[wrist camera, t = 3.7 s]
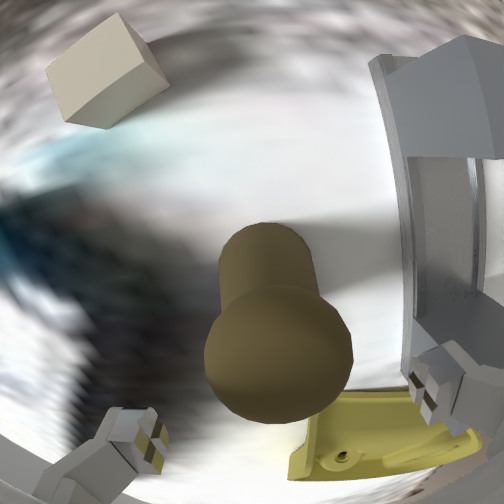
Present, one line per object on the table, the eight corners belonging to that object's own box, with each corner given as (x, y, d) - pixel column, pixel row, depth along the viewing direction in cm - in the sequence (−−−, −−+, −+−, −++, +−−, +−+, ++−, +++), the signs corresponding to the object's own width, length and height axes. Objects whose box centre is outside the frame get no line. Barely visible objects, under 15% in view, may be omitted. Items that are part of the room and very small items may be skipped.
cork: (211, 227, 18) (161, 314, 7) (310, 217, 18) (388, 289, 7) (225, 315, 20) (206, 449, 9) (314, 306, 19) (365, 431, 9)
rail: (367, 62, 15) (379, 54, 13) (446, 66, 14) (460, 60, 13) (400, 370, 21) (409, 384, 20) (461, 345, 21) (472, 356, 19)
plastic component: (283, 480, 23) (308, 474, 16) (288, 420, 28) (312, 389, 22) (437, 466, 22) (492, 444, 16) (433, 416, 28) (482, 384, 21)
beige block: (86, 86, 15) (44, 69, 10) (146, 43, 14) (117, 11, 10) (106, 129, 16) (64, 121, 11) (171, 86, 15) (144, 61, 11)
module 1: (383, 77, 14) (463, 34, 6) (465, 81, 13) (545, 62, 6) (401, 156, 15) (495, 159, 7) (480, 148, 15) (565, 155, 7)
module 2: (412, 317, 18) (473, 385, 11) (482, 289, 18) (546, 336, 10) (408, 368, 20) (453, 437, 12) (474, 339, 19) (526, 390, 11)
